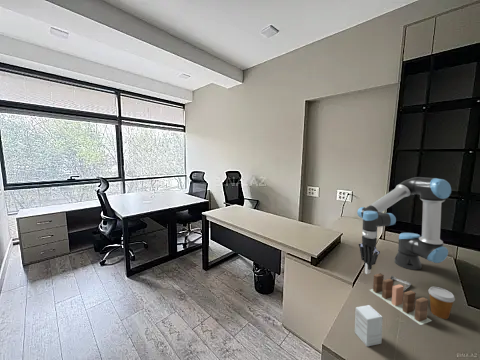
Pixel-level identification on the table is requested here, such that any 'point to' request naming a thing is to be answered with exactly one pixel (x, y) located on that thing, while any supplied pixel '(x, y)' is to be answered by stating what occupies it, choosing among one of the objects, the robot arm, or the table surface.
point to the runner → (401, 308)
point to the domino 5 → (421, 309)
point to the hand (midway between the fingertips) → (367, 273)
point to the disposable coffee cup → (441, 302)
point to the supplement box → (368, 325)
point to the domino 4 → (408, 301)
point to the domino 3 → (397, 295)
